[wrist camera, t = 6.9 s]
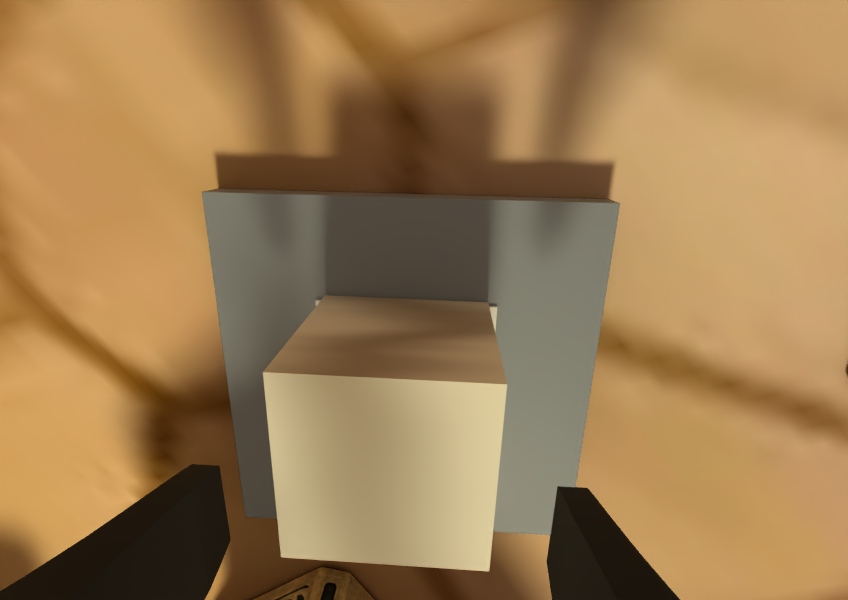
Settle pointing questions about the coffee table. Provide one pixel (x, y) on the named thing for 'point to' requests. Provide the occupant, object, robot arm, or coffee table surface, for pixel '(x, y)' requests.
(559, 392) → the baseplate
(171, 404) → the coffee table surface
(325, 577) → the decorative box
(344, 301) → the birch block
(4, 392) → the coffee table surface
